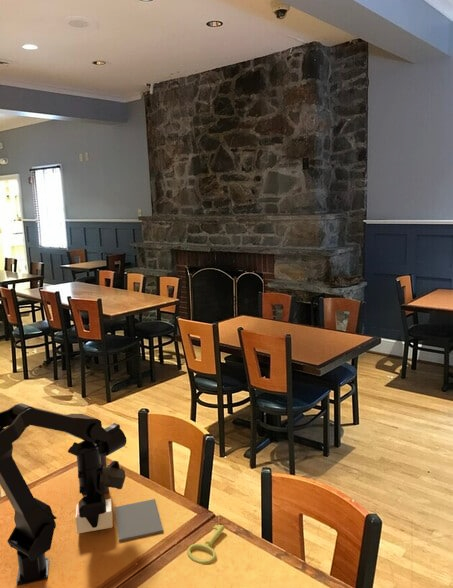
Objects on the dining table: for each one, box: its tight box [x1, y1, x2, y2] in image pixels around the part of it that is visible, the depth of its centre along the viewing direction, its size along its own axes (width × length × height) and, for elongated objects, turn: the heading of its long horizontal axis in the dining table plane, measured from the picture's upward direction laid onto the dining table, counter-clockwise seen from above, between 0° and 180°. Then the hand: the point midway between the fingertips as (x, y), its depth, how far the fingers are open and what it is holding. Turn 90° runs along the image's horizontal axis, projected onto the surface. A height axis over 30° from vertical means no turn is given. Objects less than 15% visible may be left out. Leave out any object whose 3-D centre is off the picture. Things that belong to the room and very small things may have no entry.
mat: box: [114, 498, 164, 543], centre depth 128 cm, size 14×11×1 cm
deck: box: [75, 498, 113, 534], centre depth 125 cm, size 6×9×5 cm, turn 103°
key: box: [186, 524, 225, 565], centre depth 118 cm, size 7×12×2 cm, turn 167°
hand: (94, 519), depth 125 cm, fingers closed on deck, 6 cm apart
